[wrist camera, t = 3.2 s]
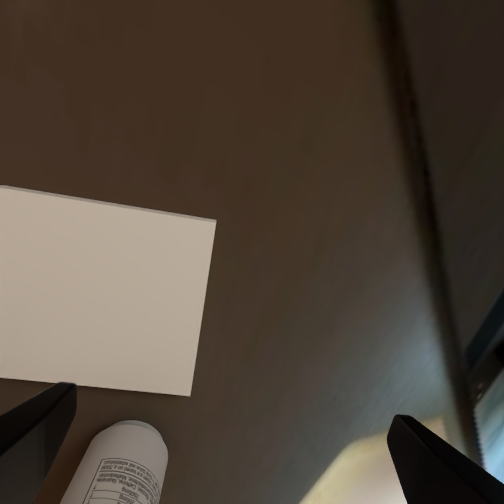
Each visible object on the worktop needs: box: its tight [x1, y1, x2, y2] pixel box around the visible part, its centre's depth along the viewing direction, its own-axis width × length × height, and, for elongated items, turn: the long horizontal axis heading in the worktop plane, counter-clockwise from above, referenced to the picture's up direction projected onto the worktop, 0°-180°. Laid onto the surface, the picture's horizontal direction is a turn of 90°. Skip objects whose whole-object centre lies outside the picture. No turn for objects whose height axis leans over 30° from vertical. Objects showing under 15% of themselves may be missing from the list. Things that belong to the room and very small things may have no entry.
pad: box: [0, 185, 217, 396], centre depth 21 cm, size 13×13×1 cm
